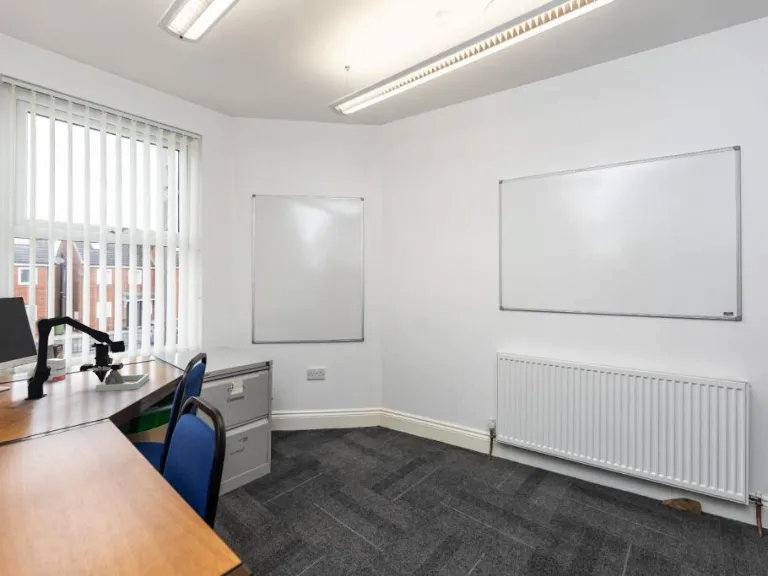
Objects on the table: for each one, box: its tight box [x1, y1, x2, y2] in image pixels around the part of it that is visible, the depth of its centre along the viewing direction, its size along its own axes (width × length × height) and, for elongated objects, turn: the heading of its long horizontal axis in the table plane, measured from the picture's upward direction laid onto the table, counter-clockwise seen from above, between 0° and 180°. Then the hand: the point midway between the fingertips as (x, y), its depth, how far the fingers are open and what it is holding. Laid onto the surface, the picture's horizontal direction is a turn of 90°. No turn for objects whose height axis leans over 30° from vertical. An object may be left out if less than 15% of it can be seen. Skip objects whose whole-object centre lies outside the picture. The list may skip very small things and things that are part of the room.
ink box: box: [47, 358, 67, 382], centre depth 218 cm, size 9×5×12 cm, turn 84°
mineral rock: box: [104, 369, 126, 385], centre depth 209 cm, size 13×11×10 cm
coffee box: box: [47, 343, 64, 360], centre depth 237 cm, size 9×6×16 cm
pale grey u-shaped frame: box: [95, 373, 150, 392], centre depth 210 cm, size 19×19×3 cm
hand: (102, 382), depth 207 cm, fingers closed
